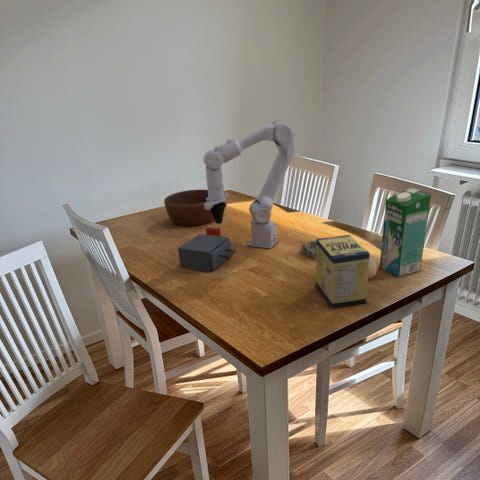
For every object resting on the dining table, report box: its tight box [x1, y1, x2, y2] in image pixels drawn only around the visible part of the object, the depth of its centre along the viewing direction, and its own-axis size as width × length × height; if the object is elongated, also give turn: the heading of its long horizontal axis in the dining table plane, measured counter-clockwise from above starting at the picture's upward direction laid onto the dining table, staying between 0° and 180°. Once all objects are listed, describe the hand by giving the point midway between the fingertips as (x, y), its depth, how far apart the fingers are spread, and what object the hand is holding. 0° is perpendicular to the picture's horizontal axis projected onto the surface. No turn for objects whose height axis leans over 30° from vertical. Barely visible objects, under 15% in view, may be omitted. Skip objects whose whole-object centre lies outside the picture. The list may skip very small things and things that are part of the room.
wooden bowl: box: [163, 189, 215, 227], centre depth 205 cm, size 25×25×10 cm
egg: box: [368, 254, 378, 280], centre depth 142 cm, size 6×6×8 cm
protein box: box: [315, 234, 371, 309], centre depth 133 cm, size 10×16×16 cm
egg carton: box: [299, 239, 317, 260], centre depth 163 cm, size 11×8×4 cm
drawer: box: [209, 239, 237, 270], centre depth 161 cm, size 15×13×6 cm
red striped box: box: [205, 225, 222, 236], centre depth 176 cm, size 5×3×8 cm, turn 63°
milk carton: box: [379, 187, 432, 278], centre depth 142 cm, size 9×9×25 cm
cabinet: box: [177, 233, 230, 273], centre depth 163 cm, size 12×14×7 cm
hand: (218, 223), depth 169 cm, fingers closed
